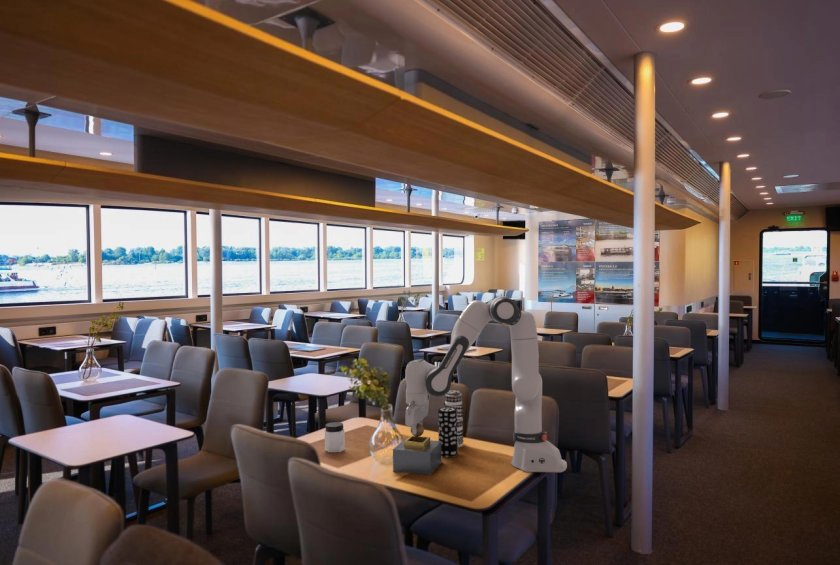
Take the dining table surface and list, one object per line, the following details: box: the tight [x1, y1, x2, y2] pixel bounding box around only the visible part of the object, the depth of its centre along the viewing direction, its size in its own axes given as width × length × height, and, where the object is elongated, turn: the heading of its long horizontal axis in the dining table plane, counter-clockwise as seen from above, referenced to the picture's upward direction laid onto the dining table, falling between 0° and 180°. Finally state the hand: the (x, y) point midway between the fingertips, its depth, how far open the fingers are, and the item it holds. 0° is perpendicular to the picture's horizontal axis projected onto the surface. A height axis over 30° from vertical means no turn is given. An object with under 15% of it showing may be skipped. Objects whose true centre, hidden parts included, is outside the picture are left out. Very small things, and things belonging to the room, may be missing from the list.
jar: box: [324, 421, 346, 453], centre depth 266 cm, size 9×8×12 cm
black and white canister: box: [443, 389, 465, 448], centre depth 271 cm, size 9×9×25 cm
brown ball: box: [410, 423, 425, 437], centre depth 241 cm, size 6×6×6 cm
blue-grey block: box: [392, 435, 443, 476], centre depth 241 cm, size 16×16×12 cm
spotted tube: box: [437, 406, 459, 458], centre depth 256 cm, size 8×8×20 cm
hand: (417, 431), depth 241 cm, fingers closed on brown ball, 5 cm apart
